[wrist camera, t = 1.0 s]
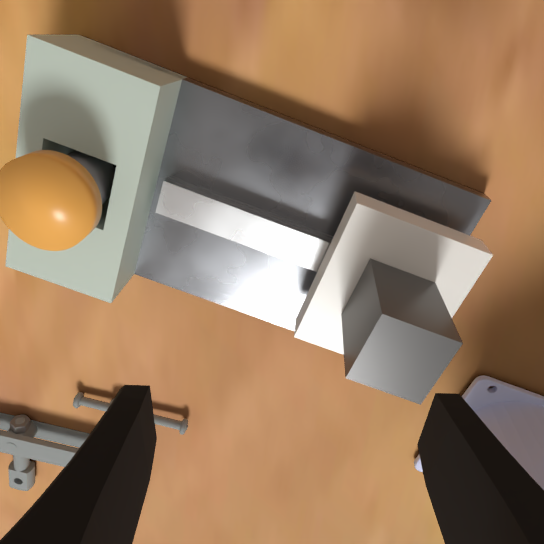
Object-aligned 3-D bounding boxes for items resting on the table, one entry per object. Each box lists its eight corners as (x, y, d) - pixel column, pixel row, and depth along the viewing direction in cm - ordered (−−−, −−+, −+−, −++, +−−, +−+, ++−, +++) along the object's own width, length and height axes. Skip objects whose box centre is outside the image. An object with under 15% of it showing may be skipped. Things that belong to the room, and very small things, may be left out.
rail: (484, 193, 22) (499, 208, 20) (387, 354, 26) (392, 377, 25) (78, 34, 20) (55, 34, 19) (50, 233, 25) (29, 248, 23)
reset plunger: (138, 152, 20) (98, 178, 16) (122, 226, 22) (82, 264, 18) (56, 121, 20) (-3, 140, 16) (46, 198, 21) (-10, 231, 18)
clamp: (-47, 483, 33) (-62, 374, 28) (-26, 458, 34) (-37, 351, 30) (165, 532, 33) (184, 431, 28) (174, 504, 35) (193, 406, 30)
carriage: (481, 240, 20) (537, 311, 15) (406, 358, 24) (431, 452, 18) (354, 191, 20) (366, 247, 15) (295, 318, 23) (287, 403, 18)
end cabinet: (188, 77, 21) (160, 86, 17) (140, 265, 25) (111, 303, 22) (78, 34, 20) (27, 34, 17) (50, 233, 25) (5, 266, 21)
